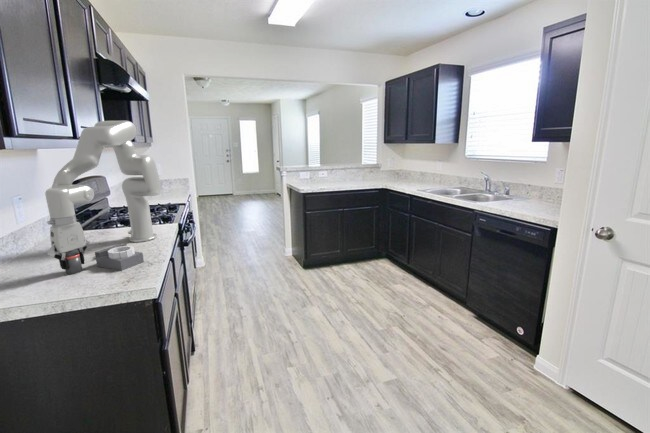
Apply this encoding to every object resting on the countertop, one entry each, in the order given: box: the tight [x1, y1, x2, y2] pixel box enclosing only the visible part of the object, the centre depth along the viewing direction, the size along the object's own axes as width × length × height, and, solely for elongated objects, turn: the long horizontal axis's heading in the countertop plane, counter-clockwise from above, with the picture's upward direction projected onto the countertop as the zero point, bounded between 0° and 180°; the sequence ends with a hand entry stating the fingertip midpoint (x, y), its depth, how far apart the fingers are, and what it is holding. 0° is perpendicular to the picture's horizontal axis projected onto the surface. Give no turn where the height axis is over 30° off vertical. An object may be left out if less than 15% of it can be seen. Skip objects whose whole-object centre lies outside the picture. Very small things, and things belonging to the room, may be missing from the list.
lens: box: [65, 249, 84, 276], centre depth 130 cm, size 5×5×10 cm
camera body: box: [94, 244, 145, 271], centre depth 138 cm, size 14×10×6 cm
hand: (73, 265), depth 131 cm, fingers closed on lens, 5 cm apart
